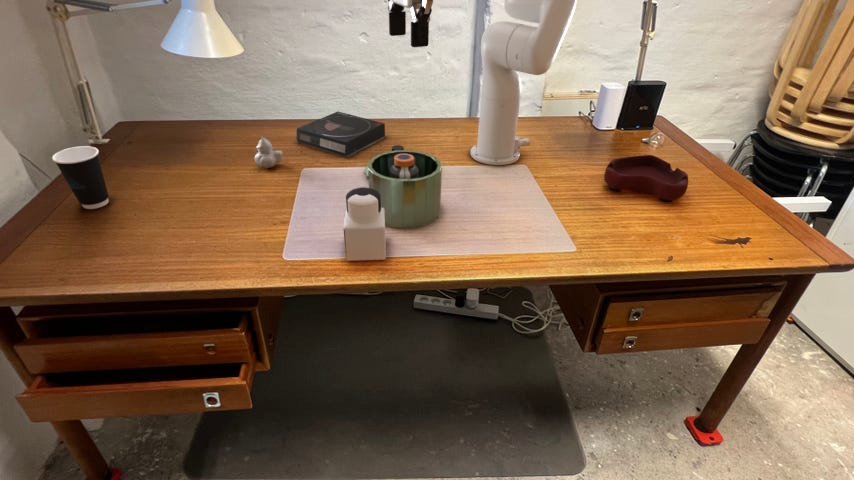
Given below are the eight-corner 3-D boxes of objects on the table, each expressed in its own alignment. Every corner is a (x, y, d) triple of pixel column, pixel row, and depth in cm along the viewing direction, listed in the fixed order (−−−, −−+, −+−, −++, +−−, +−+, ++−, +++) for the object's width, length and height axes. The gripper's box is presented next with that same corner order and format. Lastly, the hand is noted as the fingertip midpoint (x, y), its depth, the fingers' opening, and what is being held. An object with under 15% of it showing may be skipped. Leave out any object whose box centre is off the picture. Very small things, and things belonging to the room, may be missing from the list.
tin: (421, 189, 115) (422, 145, 109) (451, 219, 105) (454, 172, 99) (360, 202, 110) (357, 156, 104) (386, 234, 99) (384, 186, 93)
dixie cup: (117, 191, 111) (99, 143, 104) (116, 208, 105) (97, 158, 98) (75, 198, 108) (53, 149, 101) (72, 215, 102) (49, 164, 95)
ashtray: (685, 180, 123) (691, 161, 120) (681, 210, 111) (688, 189, 108) (609, 165, 129) (614, 147, 126) (598, 192, 116) (603, 172, 114)
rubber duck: (257, 162, 125) (251, 130, 120) (285, 161, 126) (280, 130, 121) (255, 171, 120) (248, 139, 116) (283, 170, 121) (278, 138, 117)
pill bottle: (414, 215, 105) (414, 164, 98) (386, 211, 106) (385, 161, 99) (421, 202, 109) (421, 152, 103) (394, 198, 110) (393, 149, 104)
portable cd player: (297, 143, 135) (295, 129, 132) (339, 125, 147) (337, 111, 144) (345, 158, 128) (344, 143, 126) (385, 137, 140) (384, 123, 138)
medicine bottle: (348, 240, 97) (343, 183, 90) (385, 239, 98) (383, 182, 91) (346, 261, 92) (340, 202, 84) (385, 260, 92) (383, 202, 85)
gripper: (453, -69, 78) (448, 49, 88) (407, -75, 91) (407, 30, 101) (409, -69, 75) (409, 53, 85) (367, -75, 88) (371, 32, 98)
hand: (408, 40), depth 93 cm, fingers open, 9 cm apart
